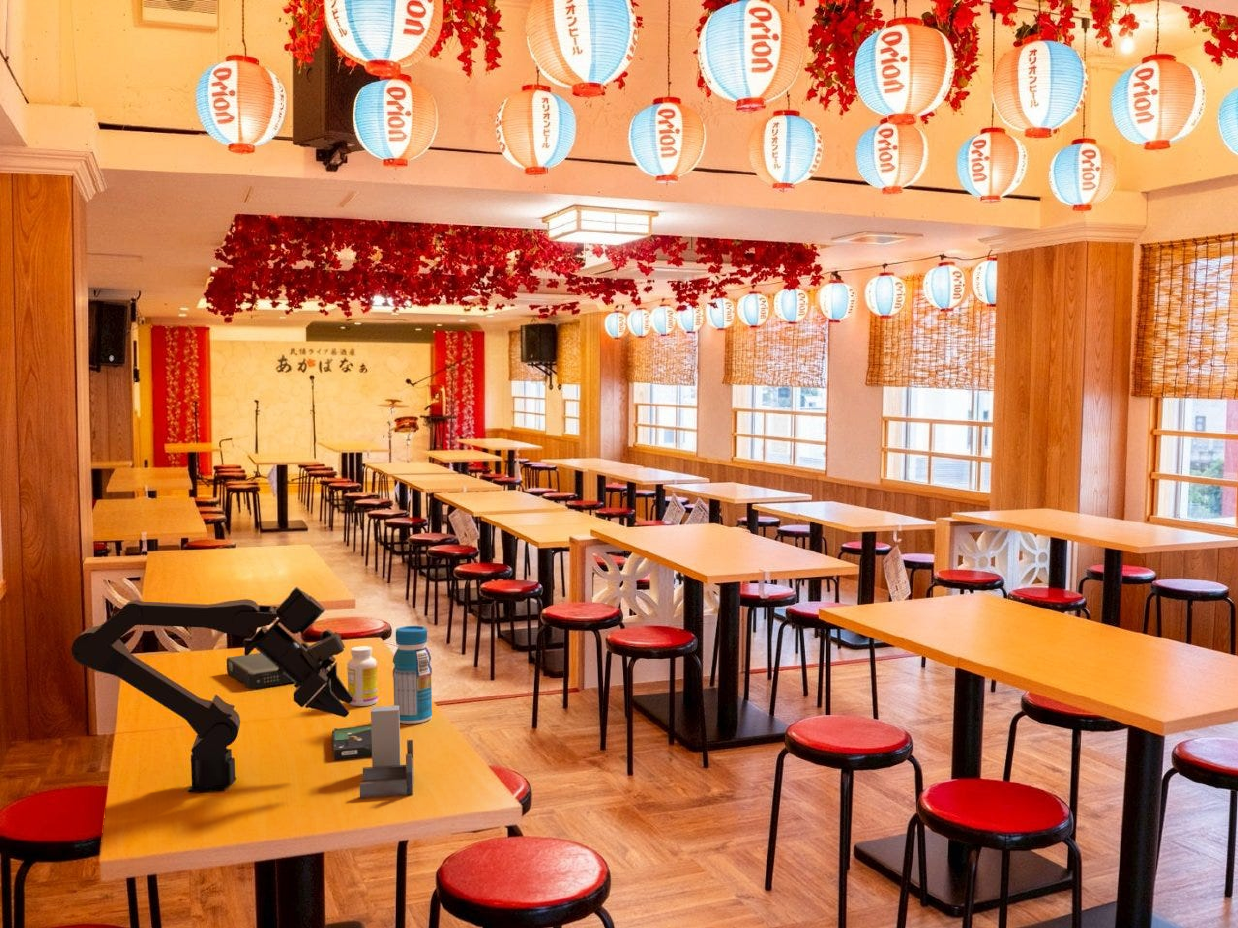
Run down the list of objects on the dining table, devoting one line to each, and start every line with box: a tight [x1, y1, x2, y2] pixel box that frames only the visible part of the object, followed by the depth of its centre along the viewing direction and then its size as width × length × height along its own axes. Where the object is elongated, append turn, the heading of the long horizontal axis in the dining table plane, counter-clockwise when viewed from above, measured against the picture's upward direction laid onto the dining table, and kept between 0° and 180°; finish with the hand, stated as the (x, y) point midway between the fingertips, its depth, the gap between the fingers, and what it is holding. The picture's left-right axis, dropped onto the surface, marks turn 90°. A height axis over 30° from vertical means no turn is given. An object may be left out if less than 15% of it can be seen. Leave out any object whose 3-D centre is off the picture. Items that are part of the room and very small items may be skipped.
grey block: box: [370, 705, 402, 767], centre depth 197 cm, size 5×5×12 cm
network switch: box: [226, 652, 333, 691], centre depth 272 cm, size 23×23×5 cm
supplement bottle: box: [346, 645, 379, 707], centre depth 244 cm, size 7×7×13 cm
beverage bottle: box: [392, 625, 433, 725], centre depth 231 cm, size 8×8×20 cm
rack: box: [358, 739, 415, 799], centre depth 189 cm, size 9×9×7 cm
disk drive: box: [331, 724, 372, 762], centre depth 213 cm, size 10×3×15 cm
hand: (349, 708), depth 196 cm, fingers open, 9 cm apart
